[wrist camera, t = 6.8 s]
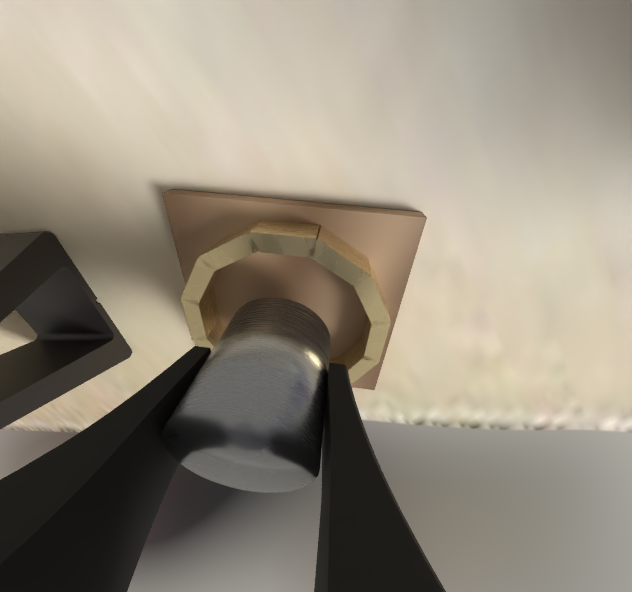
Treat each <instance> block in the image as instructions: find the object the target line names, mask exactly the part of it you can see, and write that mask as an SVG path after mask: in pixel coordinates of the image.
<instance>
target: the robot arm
mask: <svg viewBox="0 0 632 592" xmlns="http://www.w3.org/2000/svg"><path fill="white" fill-rule="evenodd" d="M210 353H211V349H210V348H207V347H199V346H195V347H193V348H192V349H191V350H190V351H188V352H187V353H186V354H185V355H183V356H182V357H181V358H180V359H178V360H177V361H176V362H175V363H174V364H172V365H171V366H170V367H169V368H167V369H166V370H165V371H164V372H162V373H161V374H160V375H159V376H157V377H156V378H155V379H154V380H152V381H151V382H150V383H148V384H147V385H146V386H145V387H143V388H142V389H141V390H140V391H138V392H137V393H136V394H134V395H133V396H132V397H130V398H129V399H127V400H126V401H125V402H123V403H122V404H121V405H119V406H118V407H117V408H115V409H114V410H112V411H111V412H110V413H108V414H107V415H105V416H104V417H102V418H101V419H100V420H98V421H97V422H95V423H94V424H92V425H91V426H89V427H88V428H86V429H85V430H83V431H82V432H80V433H78V434H77V435H75V436H74V437H72V438H71V439H69V440H68V441H66V442H64V443H63V444H61V445H59V446H58V447H56V448H55V449H53V450H51V451H49V452H48V453H46V454H44V455H43V456H41V457H39V458H37V459H36V460H34V461H32V462H31V463H29V464H27V465H26V466H24V467H23V468H21V469H19V470H17V471H15V472H14V473H12V474H10V475H8V476H7V477H4V478H3V479H1V480H0V592H127V590H128V587H129V584H130V582H131V579H132V576H133V574H134V571H135V568H136V566H137V563H138V560H139V558H140V555H141V552H142V550H143V547H144V544H145V542H146V539H147V537H148V534H149V532H150V529H151V527H152V524H153V522H154V519H155V517H156V514H157V512H158V509H159V507H160V504H161V502H162V500H163V497H164V495H165V493H166V490H167V488H168V486H169V483H170V481H171V479H172V477H173V474H174V473H175V470H176V468H177V466H178V464H179V462H178V461H177V460H176V459H175V458H174V457H173V456H172V455H171V454H170V453H169V452H168V450H167V449H166V447H165V445H164V443H163V440H162V432H163V429H164V427H165V425H166V423H167V422H168V420H169V419H170V417H171V415H172V414H173V412H174V411H175V409H176V407H177V406H178V404H179V403H180V401H181V399H182V398H183V396H184V395H185V393H186V391H187V390H188V388H189V386H190V385H191V383H192V382H193V380H194V378H195V377H196V375H197V374H198V372H199V370H200V369H201V367H202V366H203V364H204V362H205V361H206V359H207V358H208V356H209V354H210ZM321 502H322V503H321V515H320V528H319V541H318V552H317V565H316V577H315V589H314V592H446V591H445V590H444V588H443V586H442V584H441V583H440V581H439V579H438V577H437V575H436V574H435V572H434V571H433V569H432V567H431V565H430V563H429V562H428V560H427V558H426V556H425V555H424V553H423V551H422V549H421V547H420V545H419V543H418V542H417V540H416V538H415V536H414V534H413V532H412V530H411V528H410V527H409V525H408V523H407V521H406V519H405V517H404V516H403V514H402V512H401V510H400V508H399V506H398V504H397V502H396V500H395V498H394V495H393V494H392V492H391V489H390V487H389V485H388V483H387V481H386V479H385V477H384V474H383V472H382V471H381V468H380V465H379V464H378V461H377V459H376V456H375V454H374V451H373V449H372V446H371V444H370V442H369V439H368V436H367V434H366V431H365V428H364V426H363V423H362V420H361V417H360V414H359V411H358V408H357V405H356V402H355V398H354V395H353V391H352V387H351V383H350V378H349V373H348V367H347V366H346V365H344V364H336V363H329V369H328V378H327V390H326V404H325V415H324V426H323V437H322V500H321Z"/></svg>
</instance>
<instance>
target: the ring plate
mask: <svg viewBox="0 0 632 592" xmlns="http://www.w3.org/2000/svg"><path fill="white" fill-rule="evenodd" d="M162 194H163V198H164V202H165V206H166V210H167V214H168V218H169V222H170V225H171V229H172V233H173V237H174V241H175V245H176V249H177V253H178V257H179V261H180V264H181V268H182V272H183V276H184V280H185V284H186V287H185V289H184V291H183V294H182V296H181V302H182V305H183V309H184V312H185V316H186V320H187V323H188V327H189V330H190V334H191V338H192V339H193V341H194V342H195V343H196V344H197V345H198V346H199V347H207V348H210V349H211V351H212V350H213V348H214V346H215V345H216V343H217V342H218V340H219V338H220V337H221V335H222V333H223V332H224V330H225V329H226V327H227V325H228V324H229V322H230V321H231V319H232V317H233V316H234V314H235V313H236V312H237V310H238V309H239V308H240V307H242V306H243V305H244V304H246V303H248V302H250V301H252V300H255V299H259V298H265V297H278V298H285V299H289V300H293V301H296V302H298V303H300V304H303V305H304V306H306V307H308V308H309V309H311V310H312V311H314V312H315V313H316V314H317V315H318V316H319V317H320V318H321V319H322V320H323V322H324V323H325V325H326V326H327V328H328V331H329V333H330V337H331V347H330V359H329V363H336V364H344V365H346V366H347V367H348V373H349V378H350V383H351V387H355V388H363V389H370V390H375V386H376V383H377V380H378V377H379V373H380V370H381V367H382V363H383V360H384V357H385V354H386V350H387V347H388V344H389V340H390V337H391V334H392V331H393V327H394V324H395V321H396V317H397V314H398V311H399V308H400V304H401V301H402V298H403V294H404V291H405V288H406V285H407V281H408V278H409V275H410V271H411V268H412V265H413V262H414V258H415V255H416V252H417V248H418V245H419V242H420V239H421V235H422V232H423V229H424V225H425V222H426V219H427V217H426V216H425V215H424V214H423V213H422V212H413V211H403V210H392V209H381V208H370V207H359V206H349V205H338V204H327V203H316V202H306V201H295V200H284V199H273V198H262V197H252V196H241V195H230V194H219V193H208V192H198V191H187V190H176V189H172V190H169V191H166V192H164V193H162Z"/></svg>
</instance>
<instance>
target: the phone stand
mask: <svg viewBox="0 0 632 592" xmlns="http://www.w3.org/2000/svg"><path fill="white" fill-rule="evenodd" d="M96 299H97V297H96V296H95V294H94V293H93V291H92V290H91V288H90V287H89V286H88V284H87V283H86V281H85V280H84V278H83V277H82V275H81V274H80V272H79V271H78V269H77V268H76V266H75V265H74V263H73V262H72V260H71V259H70V257H69V256H68V254H67V253H66V251H65V250H64V248H63V247H62V245H61V244H60V242H59V241H58V239H57V238H56V236H55V235H54V234H53V233H51V232H34V233H19V234H5V235H0V322H1V321H2V320H3V319H4V318H5V317H7V316H8V315H9V314H10V313H11V312H12V311H13V310H14V309H16V310H17V312H18V313H19V314H20V315H21V316H22V317H23V318H24V319H25V320H26V321H27V323H28V324H29V325H30V326H31V327H32V328H33V329H34V330H35V331H36V333H37V334H38V337H37V339H36V340H35V341H33V342H30V343H28V344H25V345H23V346H21V347H18V348H16V349H13V350H11V351H9V352H6V353H4V354H1V355H0V429H2V428H3V427H5V426H7V425H9V424H11V423H12V422H14V421H16V420H18V419H20V418H21V417H23V416H25V415H27V414H29V413H30V412H32V411H34V410H36V409H38V408H39V407H41V406H43V405H45V404H47V403H48V402H50V401H52V400H54V399H56V398H57V397H59V396H61V395H63V394H65V393H66V392H68V391H70V390H72V389H74V388H75V387H77V386H79V385H81V384H83V383H84V382H86V381H88V380H90V379H92V378H93V377H95V376H97V375H99V374H101V373H102V372H104V371H106V370H108V369H110V368H111V367H113V366H115V365H117V364H118V363H120V362H122V361H124V360H126V359H127V358H129V357H130V356H131V354H132V350H131V348H130V347H129V345H128V344H127V342H126V341H125V339H124V338H123V336H122V335H121V333H120V332H119V330H118V329H117V327H116V326H115V324H114V323H113V321H112V320H111V318H110V317H109V315H108V314H107V312H106V311H105V309H104V308H103V306H102V305H101V303H96Z"/></svg>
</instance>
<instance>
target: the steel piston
mask: <svg viewBox="0 0 632 592" xmlns="http://www.w3.org/2000/svg"><path fill="white" fill-rule="evenodd" d="M330 347H331V337H330V333H329V331H328V328H327V326H326V325H325V323H324V322H323V320H322V319H321V318H320V317H319V316H318V315H317V314H316V313H315V312H314V311H312V310H311V309H309V308H308V307H306V306H304V305H303V304H300V303H298V302H296V301H293V300H289V299H285V298H278V297H265V298H259V299H255V300H252V301H250V302H248V303H246V304H244V305H243V306H242V307H240V308H239V309H238V310H237V312H236V313H235V314H234V316H233V317H232V319H231V321H230V322H229V324H228V325H227V327H226V329H225V330H224V332H223V333H222V335H221V337H220V338H219V340H218V342H217V343H216V345H215V346H214V348H213V350H212V351H211V353H210V354H209V356H208V358H207V359H206V361H205V362H204V364H203V366H202V367H201V369H200V370H199V372H198V374H197V375H196V377H195V378H194V380H193V382H192V383H191V385H190V386H189V388H188V390H187V391H186V393H185V395H184V396H183V398H182V399H181V401H180V403H179V404H178V406H177V407H176V409H175V411H174V412H173V414H172V415H171V417H170V419H169V420H168V422H167V423H166V425H165V427H164V429H163V432H162V440H163V443H164V445H165V447H166V449H167V450H168V452H169V453H170V454H171V455H172V456H173V457H174V458H175V459H176V460H177V461H178V462H179V463H180V464H182V465H183V466H185V467H186V468H187V469H189V470H191V471H192V472H194V473H196V474H198V475H200V476H202V477H204V478H206V479H209V480H211V481H214V482H216V483H219V484H222V485H225V486H229V487H233V488H237V489H242V490H248V491H254V492H268V493H272V492H273V493H274V492H287V491H293V490H297V489H300V488H302V487H305V486H307V485H308V484H310V483H312V482H313V481H314V480H315V479H316V477H317V476H318V474H319V470H320V459H321V448H322V437H323V426H324V415H325V404H326V390H327V378H328V369H329V359H330Z"/></svg>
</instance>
